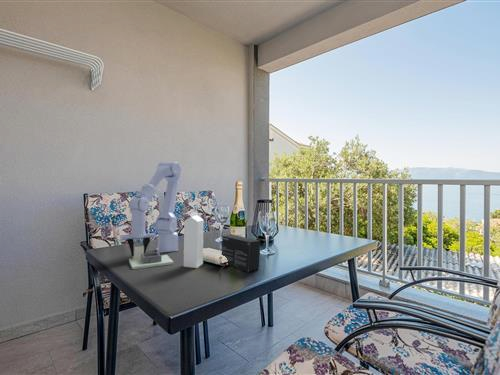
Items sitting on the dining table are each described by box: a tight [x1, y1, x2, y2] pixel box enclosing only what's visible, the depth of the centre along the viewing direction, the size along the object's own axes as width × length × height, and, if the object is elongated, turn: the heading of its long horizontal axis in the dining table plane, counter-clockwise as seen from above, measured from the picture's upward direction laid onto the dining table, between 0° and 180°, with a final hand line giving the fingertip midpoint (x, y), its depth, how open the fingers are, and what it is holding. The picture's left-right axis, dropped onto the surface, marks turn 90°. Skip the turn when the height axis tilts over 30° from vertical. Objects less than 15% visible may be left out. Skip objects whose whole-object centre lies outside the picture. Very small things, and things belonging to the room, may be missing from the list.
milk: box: [183, 211, 205, 269], centre depth 115 cm, size 6×6×22 cm
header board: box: [128, 251, 174, 270], centre depth 118 cm, size 16×12×4 cm
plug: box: [132, 243, 144, 259], centre depth 123 cm, size 4×4×7 cm
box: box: [221, 234, 261, 273], centre depth 116 cm, size 17×7×12 cm, turn 45°
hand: (138, 255), depth 123 cm, fingers closed on plug, 4 cm apart
